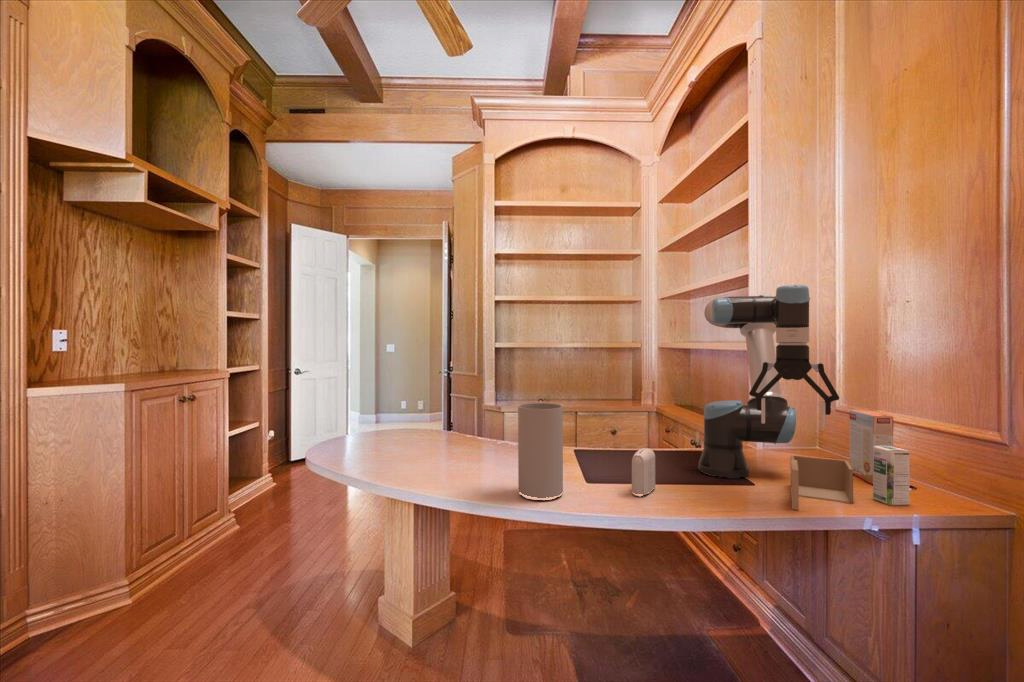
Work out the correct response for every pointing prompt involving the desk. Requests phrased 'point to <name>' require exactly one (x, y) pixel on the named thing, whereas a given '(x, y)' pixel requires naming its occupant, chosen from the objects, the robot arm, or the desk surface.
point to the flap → (794, 485)
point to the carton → (825, 478)
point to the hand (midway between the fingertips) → (792, 425)
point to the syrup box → (891, 475)
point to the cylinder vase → (540, 449)
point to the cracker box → (868, 439)
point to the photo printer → (643, 471)
